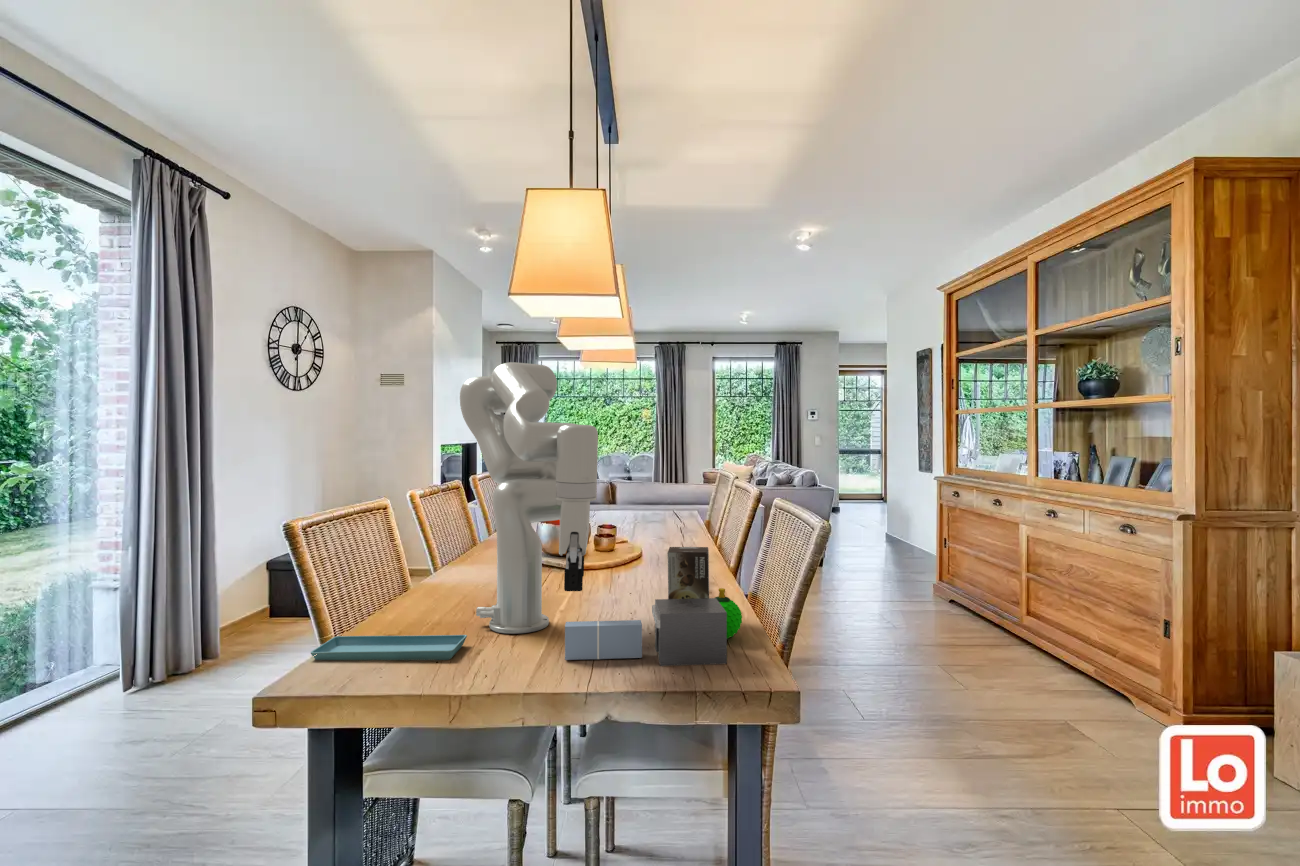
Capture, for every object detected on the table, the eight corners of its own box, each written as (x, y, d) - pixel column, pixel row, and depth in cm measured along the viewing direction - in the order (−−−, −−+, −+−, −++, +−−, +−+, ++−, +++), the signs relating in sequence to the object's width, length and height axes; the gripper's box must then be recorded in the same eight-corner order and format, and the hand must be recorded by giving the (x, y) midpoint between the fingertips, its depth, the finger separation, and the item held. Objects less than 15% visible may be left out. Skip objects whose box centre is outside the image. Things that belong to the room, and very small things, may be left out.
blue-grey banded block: (564, 660, 111) (565, 626, 111) (565, 654, 114) (565, 621, 114) (641, 658, 112) (642, 624, 112) (640, 652, 115) (640, 619, 115)
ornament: (699, 632, 128) (699, 584, 128) (737, 631, 128) (737, 584, 128) (705, 645, 120) (705, 594, 120) (746, 644, 120) (746, 593, 120)
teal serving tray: (308, 663, 111) (308, 650, 111) (335, 646, 120) (335, 634, 120) (452, 664, 111) (452, 650, 111) (467, 647, 120) (467, 634, 120)
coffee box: (709, 618, 138) (709, 546, 138) (709, 626, 132) (709, 551, 132) (669, 616, 139) (669, 545, 139) (667, 625, 133) (667, 550, 133)
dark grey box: (656, 665, 109) (656, 614, 109) (651, 647, 119) (652, 599, 119) (726, 663, 110) (726, 612, 110) (716, 645, 120) (716, 598, 120)
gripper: (558, 486, 121) (557, 572, 122) (552, 496, 104) (550, 596, 104) (596, 486, 122) (595, 572, 122) (596, 497, 105) (594, 596, 105)
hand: (574, 583), depth 113 cm, fingers open, 9 cm apart
